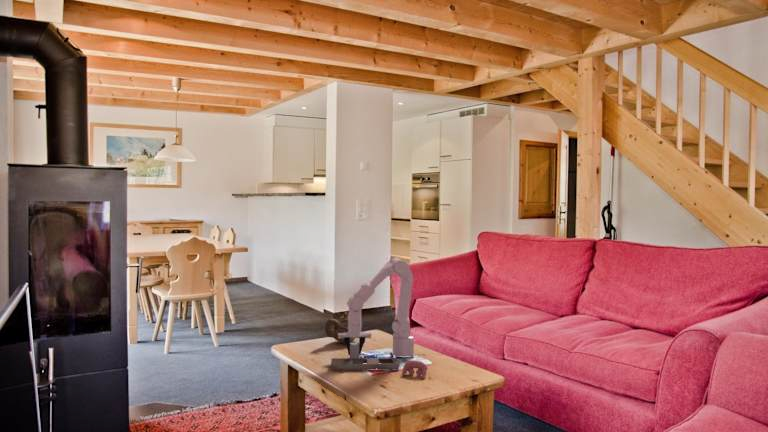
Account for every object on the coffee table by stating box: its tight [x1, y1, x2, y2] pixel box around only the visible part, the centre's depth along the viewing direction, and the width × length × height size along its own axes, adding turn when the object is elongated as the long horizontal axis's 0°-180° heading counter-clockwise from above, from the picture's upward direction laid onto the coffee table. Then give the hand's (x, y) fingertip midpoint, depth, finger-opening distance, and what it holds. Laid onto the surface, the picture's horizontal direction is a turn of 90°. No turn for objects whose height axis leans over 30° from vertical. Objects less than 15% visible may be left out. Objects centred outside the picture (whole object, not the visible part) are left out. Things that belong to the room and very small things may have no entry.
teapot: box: [324, 311, 363, 345], centre depth 268 cm, size 21×12×15 cm, turn 130°
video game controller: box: [401, 359, 428, 380], centre depth 226 cm, size 10×5×7 cm, turn 71°
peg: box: [349, 342, 360, 358], centre depth 245 cm, size 4×4×6 cm
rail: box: [330, 357, 400, 372], centre depth 234 cm, size 28×8×2 cm, turn 95°
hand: (354, 354), depth 245 cm, fingers closed on peg, 4 cm apart
